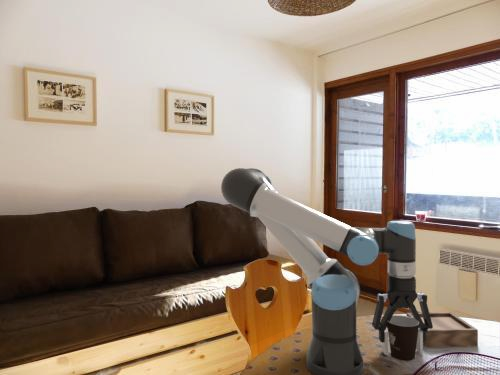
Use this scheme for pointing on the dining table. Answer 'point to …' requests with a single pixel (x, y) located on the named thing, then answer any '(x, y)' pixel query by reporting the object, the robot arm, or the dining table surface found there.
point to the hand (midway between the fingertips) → (402, 352)
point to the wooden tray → (449, 331)
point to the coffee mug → (403, 337)
